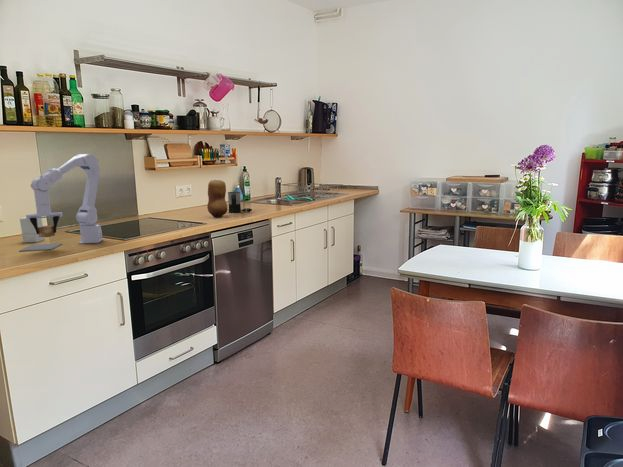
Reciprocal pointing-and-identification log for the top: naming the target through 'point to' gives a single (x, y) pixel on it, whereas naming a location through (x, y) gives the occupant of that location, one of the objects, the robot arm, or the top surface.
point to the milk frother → (235, 203)
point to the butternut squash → (217, 198)
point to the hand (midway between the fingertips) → (46, 233)
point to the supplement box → (30, 230)
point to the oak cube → (46, 231)
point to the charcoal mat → (41, 247)
